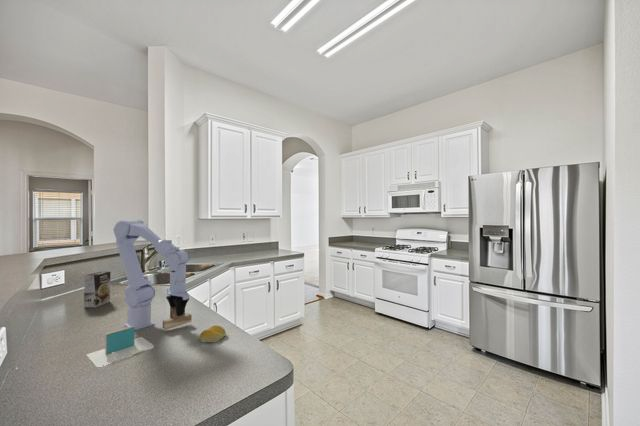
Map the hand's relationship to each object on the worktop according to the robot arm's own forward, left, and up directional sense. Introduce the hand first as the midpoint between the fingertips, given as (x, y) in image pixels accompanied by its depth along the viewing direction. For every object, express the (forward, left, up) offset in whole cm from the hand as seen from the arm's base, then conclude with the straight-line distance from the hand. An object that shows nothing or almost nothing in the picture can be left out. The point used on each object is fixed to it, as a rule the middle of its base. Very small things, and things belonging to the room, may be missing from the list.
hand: (177, 314), depth 108 cm
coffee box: (-62, -11, -6) cm, 63 cm away
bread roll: (+19, +4, -6) cm, 20 cm away
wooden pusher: (0, 0, -4) cm, 4 cm away
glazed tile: (+2, -20, -6) cm, 21 cm away
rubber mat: (+4, -20, -6) cm, 21 cm away
